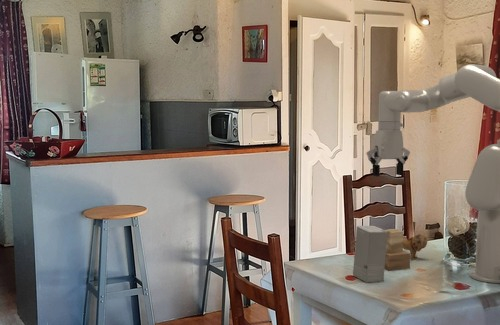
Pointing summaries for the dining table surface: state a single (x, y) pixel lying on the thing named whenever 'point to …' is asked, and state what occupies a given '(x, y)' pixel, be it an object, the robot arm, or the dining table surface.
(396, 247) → the oak block
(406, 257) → the walnut block
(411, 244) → the lion figurine
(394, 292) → the dining table surface
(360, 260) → the skincare box
